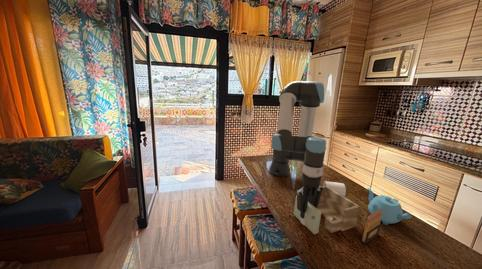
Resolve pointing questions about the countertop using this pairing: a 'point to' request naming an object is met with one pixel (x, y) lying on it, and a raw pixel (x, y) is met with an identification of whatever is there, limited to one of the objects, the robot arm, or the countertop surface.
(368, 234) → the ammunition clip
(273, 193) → the countertop surface
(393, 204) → the teapot
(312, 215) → the door
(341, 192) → the mug
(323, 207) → the carcass
